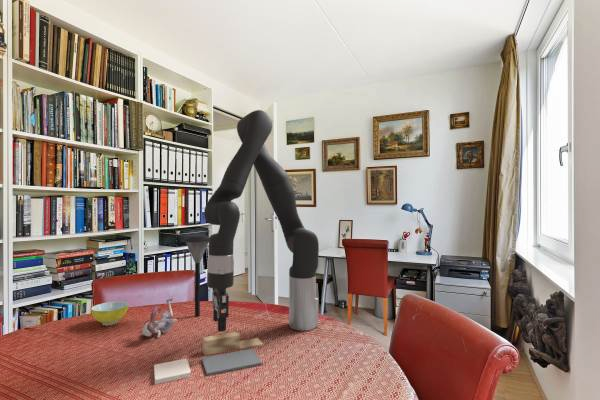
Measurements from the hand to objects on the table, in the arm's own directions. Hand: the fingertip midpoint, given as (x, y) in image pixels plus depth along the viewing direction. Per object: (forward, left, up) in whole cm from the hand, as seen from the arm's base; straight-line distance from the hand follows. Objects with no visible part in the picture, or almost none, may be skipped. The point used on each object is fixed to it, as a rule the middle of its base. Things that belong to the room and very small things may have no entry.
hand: (219, 325), depth 97 cm
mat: (-2, +10, -7) cm, 12 cm away
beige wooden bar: (-4, +1, -7) cm, 8 cm away
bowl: (+31, -36, -7) cm, 48 cm away
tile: (+9, +9, -6) cm, 14 cm away
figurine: (+15, -19, -7) cm, 25 cm away
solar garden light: (+2, -32, -7) cm, 33 cm away
